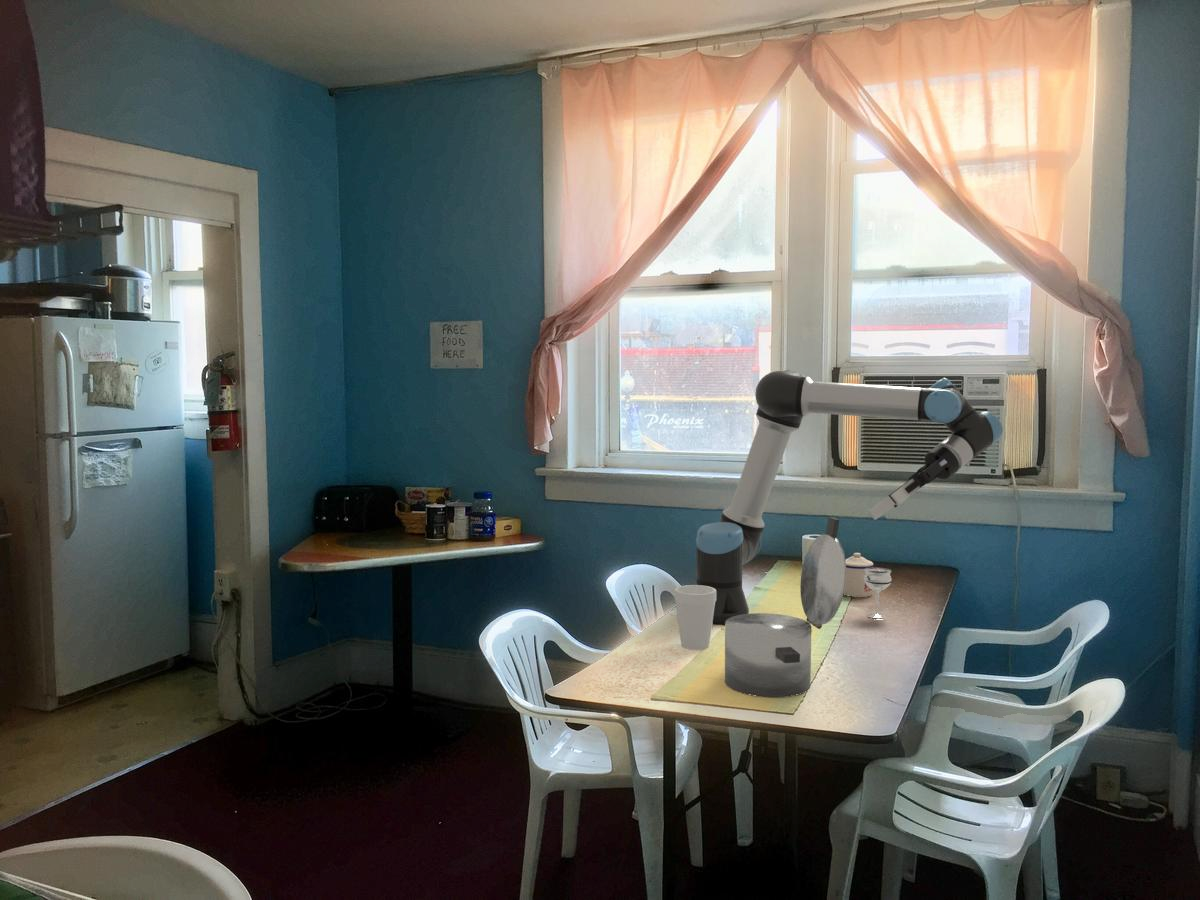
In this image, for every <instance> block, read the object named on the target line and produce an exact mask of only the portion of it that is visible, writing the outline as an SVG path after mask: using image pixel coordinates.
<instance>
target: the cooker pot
mask: <svg viewBox="0 0 1200 900" xmlns="http://www.w3.org/2000/svg"><path fill="white" fill-rule="evenodd" d="M724 625H725V627H724V683H725V685H726V686H727V687H728V688H729V689H731V690H733V691H734V692H735V691H736V692H737V693H740V692H741V693H740V694H744V693H745V694H744V695H748V694H751V695H750V696H753V695H756V696H755V697H759V696H762V698H763V697H764V698H788V697H787V696H789V697H792V696H791V695H795V696H797V695H796V694H799V695H801V694H800V693H802V694H804V693H806V692H808V691H809V690H810V689H811V675H812V674H811V672H812V671H811V668H812V624H810V623H809V622H807V620H805V619H803V618H799V617H796V616H792V615H789V614H788V615H786V614H778V613H767V612H765V613H764V612H761V613H760V612H759V613H756V612H755V613H749V614H742V615H737V616H733V617H731V618H729V619H727V620H726V622H725V624H724ZM808 689H809V690H808ZM807 690H808V691H807ZM805 691H806V692H805ZM803 692H804V693H803ZM785 696H786V697H785Z"/></svg>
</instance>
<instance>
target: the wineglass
mask: <svg viewBox="0 0 1200 900" xmlns="http://www.w3.org/2000/svg"><path fill="white" fill-rule="evenodd" d="M864 570H865V572H866V573H865V575H864V581H865V584H866V585H867V586H868V587H869V588H871V589H872V591H873V592H874V593H875V613H870V614H867V615H868V616H870V617H873V618H884V617H885V616H886V615H884V614H881V613H879V612H878V611H879V596H880V593H881V591H883V590H886V589H887V588H888V587H889V586H890V585H891V584H892V576H891V573H892V570H891V569H889V568H884V567H883V568H882V567H873V568H866V569H864Z"/></svg>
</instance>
